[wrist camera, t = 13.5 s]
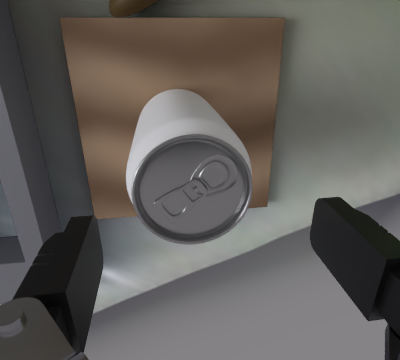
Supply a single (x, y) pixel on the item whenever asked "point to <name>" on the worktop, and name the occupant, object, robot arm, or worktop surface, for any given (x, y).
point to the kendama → (128, 6)
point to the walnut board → (169, 88)
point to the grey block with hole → (20, 168)
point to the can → (187, 170)
